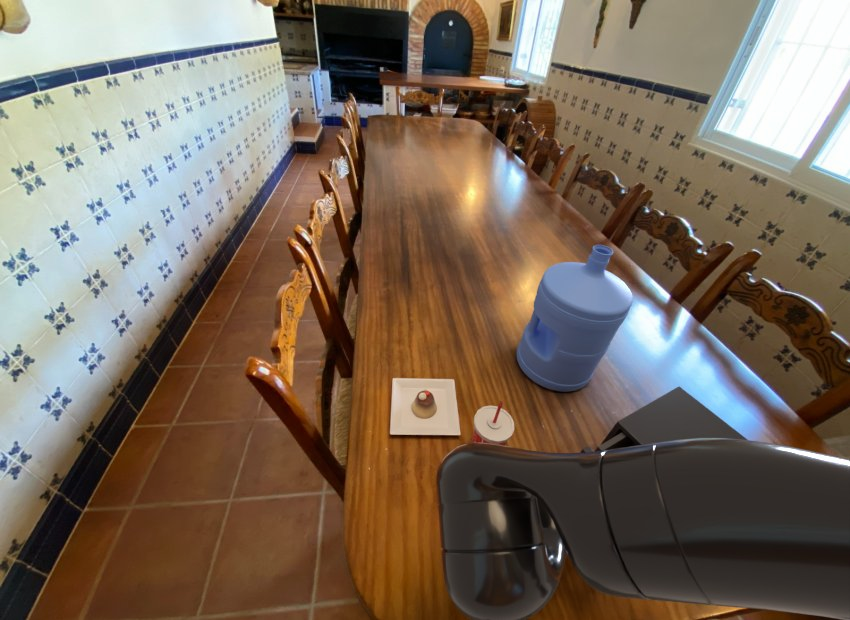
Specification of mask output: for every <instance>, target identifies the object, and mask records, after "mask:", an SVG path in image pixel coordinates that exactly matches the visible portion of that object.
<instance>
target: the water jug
mask: <svg viewBox="0 0 850 620" xmlns="http://www.w3.org/2000/svg"><path fill="white" fill-rule="evenodd" d="M613 254H614V250H613V249H612V248H611V247H609V246H606V245H603V244H595V245H593V246H592V251H591V253H590V254H589V255H588V258H587V262H586V263H585V262H577V261H564V262H559V263H555V264H552V265H550V266H549V267H548V268H547V269H545V271H544V272H543V274H542V277H541V279H540V281H539V284H538V286H537V289H536V294H535V298H534V301H533V311H532V314H531V317H530V320H529V322H528V323H527V324H526V325H525V327H524V330H523V333H522V336H521V339H520V340H519V343H518V345H517V348H516V360H517V363H518V366H519V368H520V369H521V371H522V372H523V373H524V374H525V376H527V377H528V378H529V379H530V380H531V381H532V382H533V383H535V384H537V385H539V386H541V387H543V388H545V389H547V390H550V391H555V392H563V393H567V392H569V393H570V392H574V391H578V390H581V389H582V388H584V387H585V386H587V385H588V384H589V383H590V382H591V379H592V378H593V376H594V373H595V371H596V369H597V367H598V365H599V363H600V362H601V360H602V359H603V357H604V356H605V355H606V353H607V351H608V349H609V348H610V345H611V343H612V341H613V339H614V337H615V335H616V334H617V332H618V330H619V329H620V327H621V325H622V324H623V323H624V322H625V320H626V319H627V317H628V315H629V312H630V309H631V307H632V306H633V302H634V298H633V293H632V291H631V288H629V286H628V285H627V284H626V282H624V281H623V280H622V279H621V278H619V277H618V276H617V275H616V274H614V273H612V272H610V271H608V270H607V269H606V268H607V266H608V265H609V263H610V258H611V257H612V256H613Z"/></svg>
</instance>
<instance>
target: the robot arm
mask: <svg viewBox="0 0 850 620" xmlns="http://www.w3.org/2000/svg"><path fill="white" fill-rule="evenodd" d="M435 487H436V490H435V491H436V501H437V514H438V529H439V542H440V548H441V550H440V557H441V570H442V577H443V582H444V586H445V589H446V592H447V595H448V596H449V598H450V600H451V602H452V603H453V604H454V606H455V607H456V609H458V611H460V612H461V613H462V614H463V615H464V616H466V617H467V618H468V619H470V620H527V619H530V618H531V617H533V616H535V614H537V613H539V612H540V611H541V610H543V608H544V607H546V605H547V604H548V603H549V601H550V600H551V599H552V598H553V596H554V594H555V593H556V590H557V589H558V586H559V584H560V581H561V578H562V575H563V571H564V568H565V564H566V561H567V558H569V560H570V562H571V564H572V566H573V567H574V569H575V571H576V572H577V574H578V575H579V577H580V578H581V579H582V580H583V581H584V582H585V584H587V585H588V586H589V587H591V588H592V589H594V590H595V591H597V592H599V593H602V594H604V595H609V596H613V597H619V598H625V599H637V600H651V601H658V602H659V601H661V602H669V603H670V602H671V603H682V604H693V605H694V604H695V605H705V606H717V607H728V608H742V609H743V608H744V609H755V610H767V611H774V612H784V613H791V614H800V615H808V616H809V615H810V616H817V617H825V618H831V619H837V620H850V459H849V458H845V457H841V456H837V455H831V454H829V453H822V452H817V451H813V450H808V449H804V448H799V447H793V446H790V445H789V446H788V445H785V444H778V443H772V442H765V441H758V440H750V439H747V440H742V439H727V438H696V439H683V440H674V441H667V442H660V443H652V444H645V445H638V446H631V447H624V448H617V449H610V450H605V451H596V452H595V451H594V452H585V453H580V452H550V451H549V452H548V451H547V452H546V451H539V450H530V449H524V448H518V447H514V446H507V445H504V446H503V445H497V444H490V443H472V442H470V443H465V444H461V445H458V446H456V447H455V448H453V449H452V450H450V451H449V452H448V453H447V454H446V455H445V456H444V457H443V459H442V460H441V461H440V462H439V465H438V467H437V470H436V476H435Z"/></svg>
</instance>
